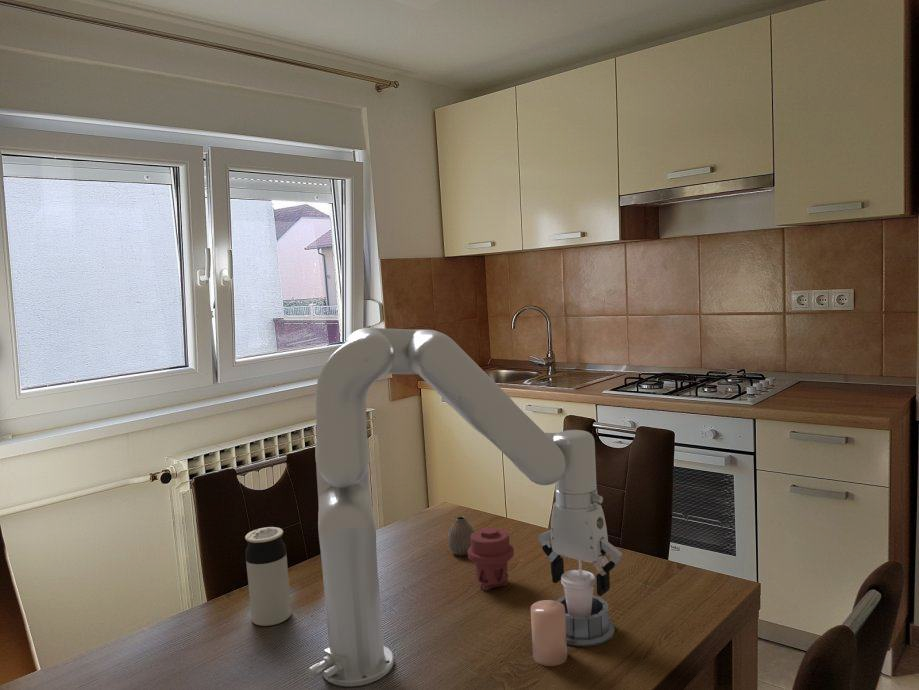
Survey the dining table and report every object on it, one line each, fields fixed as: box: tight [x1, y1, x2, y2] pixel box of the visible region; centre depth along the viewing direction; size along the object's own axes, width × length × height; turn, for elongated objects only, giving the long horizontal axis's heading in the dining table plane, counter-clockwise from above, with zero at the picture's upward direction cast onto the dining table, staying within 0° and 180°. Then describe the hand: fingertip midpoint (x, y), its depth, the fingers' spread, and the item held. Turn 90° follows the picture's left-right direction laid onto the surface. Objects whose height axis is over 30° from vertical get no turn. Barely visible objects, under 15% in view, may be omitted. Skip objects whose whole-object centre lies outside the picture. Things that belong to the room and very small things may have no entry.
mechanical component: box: [467, 526, 515, 591], centre depth 153 cm, size 12×10×10 cm
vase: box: [447, 516, 476, 557], centre depth 171 cm, size 7×7×9 cm
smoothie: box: [560, 560, 596, 616], centre depth 131 cm, size 6×6×14 cm
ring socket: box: [555, 594, 616, 648], centre depth 132 cm, size 12×12×5 cm
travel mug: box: [244, 526, 292, 627], centre depth 143 cm, size 8×8×18 cm
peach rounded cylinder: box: [530, 599, 568, 667], centre depth 123 cm, size 6×6×9 cm
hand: (580, 586), depth 131 cm, fingers open, 9 cm apart
